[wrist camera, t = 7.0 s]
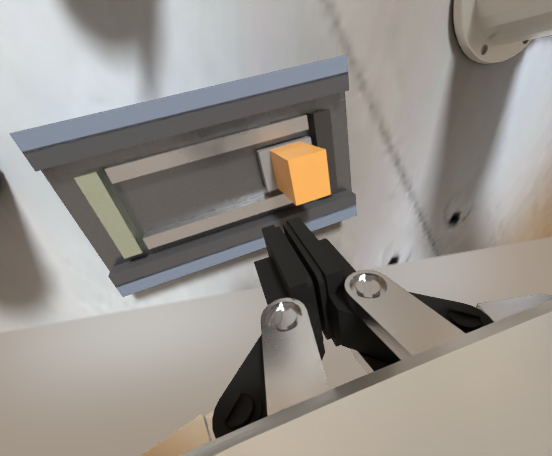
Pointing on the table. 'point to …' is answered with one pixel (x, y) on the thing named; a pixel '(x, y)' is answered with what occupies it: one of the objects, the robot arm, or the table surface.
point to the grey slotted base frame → (194, 180)
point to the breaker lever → (296, 170)
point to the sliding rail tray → (180, 119)
